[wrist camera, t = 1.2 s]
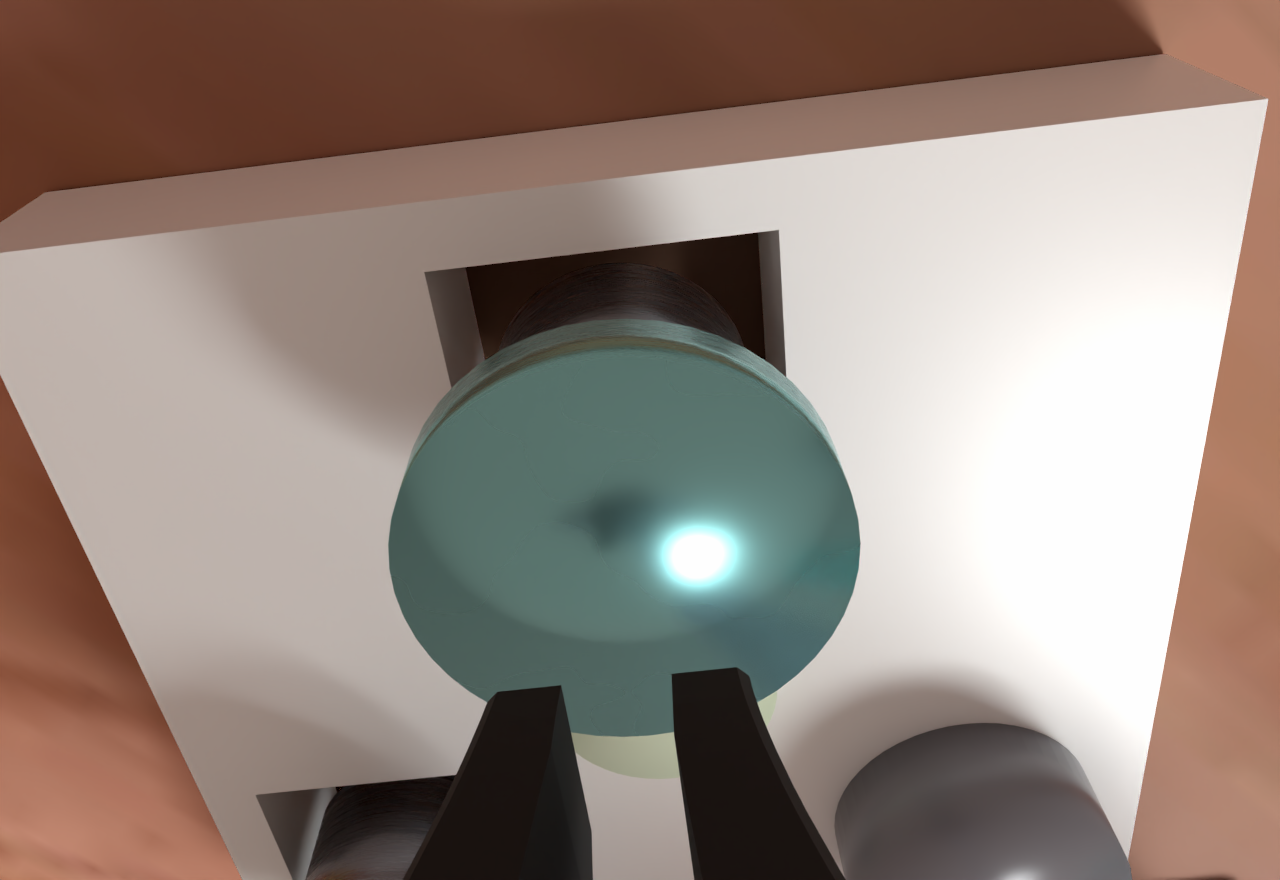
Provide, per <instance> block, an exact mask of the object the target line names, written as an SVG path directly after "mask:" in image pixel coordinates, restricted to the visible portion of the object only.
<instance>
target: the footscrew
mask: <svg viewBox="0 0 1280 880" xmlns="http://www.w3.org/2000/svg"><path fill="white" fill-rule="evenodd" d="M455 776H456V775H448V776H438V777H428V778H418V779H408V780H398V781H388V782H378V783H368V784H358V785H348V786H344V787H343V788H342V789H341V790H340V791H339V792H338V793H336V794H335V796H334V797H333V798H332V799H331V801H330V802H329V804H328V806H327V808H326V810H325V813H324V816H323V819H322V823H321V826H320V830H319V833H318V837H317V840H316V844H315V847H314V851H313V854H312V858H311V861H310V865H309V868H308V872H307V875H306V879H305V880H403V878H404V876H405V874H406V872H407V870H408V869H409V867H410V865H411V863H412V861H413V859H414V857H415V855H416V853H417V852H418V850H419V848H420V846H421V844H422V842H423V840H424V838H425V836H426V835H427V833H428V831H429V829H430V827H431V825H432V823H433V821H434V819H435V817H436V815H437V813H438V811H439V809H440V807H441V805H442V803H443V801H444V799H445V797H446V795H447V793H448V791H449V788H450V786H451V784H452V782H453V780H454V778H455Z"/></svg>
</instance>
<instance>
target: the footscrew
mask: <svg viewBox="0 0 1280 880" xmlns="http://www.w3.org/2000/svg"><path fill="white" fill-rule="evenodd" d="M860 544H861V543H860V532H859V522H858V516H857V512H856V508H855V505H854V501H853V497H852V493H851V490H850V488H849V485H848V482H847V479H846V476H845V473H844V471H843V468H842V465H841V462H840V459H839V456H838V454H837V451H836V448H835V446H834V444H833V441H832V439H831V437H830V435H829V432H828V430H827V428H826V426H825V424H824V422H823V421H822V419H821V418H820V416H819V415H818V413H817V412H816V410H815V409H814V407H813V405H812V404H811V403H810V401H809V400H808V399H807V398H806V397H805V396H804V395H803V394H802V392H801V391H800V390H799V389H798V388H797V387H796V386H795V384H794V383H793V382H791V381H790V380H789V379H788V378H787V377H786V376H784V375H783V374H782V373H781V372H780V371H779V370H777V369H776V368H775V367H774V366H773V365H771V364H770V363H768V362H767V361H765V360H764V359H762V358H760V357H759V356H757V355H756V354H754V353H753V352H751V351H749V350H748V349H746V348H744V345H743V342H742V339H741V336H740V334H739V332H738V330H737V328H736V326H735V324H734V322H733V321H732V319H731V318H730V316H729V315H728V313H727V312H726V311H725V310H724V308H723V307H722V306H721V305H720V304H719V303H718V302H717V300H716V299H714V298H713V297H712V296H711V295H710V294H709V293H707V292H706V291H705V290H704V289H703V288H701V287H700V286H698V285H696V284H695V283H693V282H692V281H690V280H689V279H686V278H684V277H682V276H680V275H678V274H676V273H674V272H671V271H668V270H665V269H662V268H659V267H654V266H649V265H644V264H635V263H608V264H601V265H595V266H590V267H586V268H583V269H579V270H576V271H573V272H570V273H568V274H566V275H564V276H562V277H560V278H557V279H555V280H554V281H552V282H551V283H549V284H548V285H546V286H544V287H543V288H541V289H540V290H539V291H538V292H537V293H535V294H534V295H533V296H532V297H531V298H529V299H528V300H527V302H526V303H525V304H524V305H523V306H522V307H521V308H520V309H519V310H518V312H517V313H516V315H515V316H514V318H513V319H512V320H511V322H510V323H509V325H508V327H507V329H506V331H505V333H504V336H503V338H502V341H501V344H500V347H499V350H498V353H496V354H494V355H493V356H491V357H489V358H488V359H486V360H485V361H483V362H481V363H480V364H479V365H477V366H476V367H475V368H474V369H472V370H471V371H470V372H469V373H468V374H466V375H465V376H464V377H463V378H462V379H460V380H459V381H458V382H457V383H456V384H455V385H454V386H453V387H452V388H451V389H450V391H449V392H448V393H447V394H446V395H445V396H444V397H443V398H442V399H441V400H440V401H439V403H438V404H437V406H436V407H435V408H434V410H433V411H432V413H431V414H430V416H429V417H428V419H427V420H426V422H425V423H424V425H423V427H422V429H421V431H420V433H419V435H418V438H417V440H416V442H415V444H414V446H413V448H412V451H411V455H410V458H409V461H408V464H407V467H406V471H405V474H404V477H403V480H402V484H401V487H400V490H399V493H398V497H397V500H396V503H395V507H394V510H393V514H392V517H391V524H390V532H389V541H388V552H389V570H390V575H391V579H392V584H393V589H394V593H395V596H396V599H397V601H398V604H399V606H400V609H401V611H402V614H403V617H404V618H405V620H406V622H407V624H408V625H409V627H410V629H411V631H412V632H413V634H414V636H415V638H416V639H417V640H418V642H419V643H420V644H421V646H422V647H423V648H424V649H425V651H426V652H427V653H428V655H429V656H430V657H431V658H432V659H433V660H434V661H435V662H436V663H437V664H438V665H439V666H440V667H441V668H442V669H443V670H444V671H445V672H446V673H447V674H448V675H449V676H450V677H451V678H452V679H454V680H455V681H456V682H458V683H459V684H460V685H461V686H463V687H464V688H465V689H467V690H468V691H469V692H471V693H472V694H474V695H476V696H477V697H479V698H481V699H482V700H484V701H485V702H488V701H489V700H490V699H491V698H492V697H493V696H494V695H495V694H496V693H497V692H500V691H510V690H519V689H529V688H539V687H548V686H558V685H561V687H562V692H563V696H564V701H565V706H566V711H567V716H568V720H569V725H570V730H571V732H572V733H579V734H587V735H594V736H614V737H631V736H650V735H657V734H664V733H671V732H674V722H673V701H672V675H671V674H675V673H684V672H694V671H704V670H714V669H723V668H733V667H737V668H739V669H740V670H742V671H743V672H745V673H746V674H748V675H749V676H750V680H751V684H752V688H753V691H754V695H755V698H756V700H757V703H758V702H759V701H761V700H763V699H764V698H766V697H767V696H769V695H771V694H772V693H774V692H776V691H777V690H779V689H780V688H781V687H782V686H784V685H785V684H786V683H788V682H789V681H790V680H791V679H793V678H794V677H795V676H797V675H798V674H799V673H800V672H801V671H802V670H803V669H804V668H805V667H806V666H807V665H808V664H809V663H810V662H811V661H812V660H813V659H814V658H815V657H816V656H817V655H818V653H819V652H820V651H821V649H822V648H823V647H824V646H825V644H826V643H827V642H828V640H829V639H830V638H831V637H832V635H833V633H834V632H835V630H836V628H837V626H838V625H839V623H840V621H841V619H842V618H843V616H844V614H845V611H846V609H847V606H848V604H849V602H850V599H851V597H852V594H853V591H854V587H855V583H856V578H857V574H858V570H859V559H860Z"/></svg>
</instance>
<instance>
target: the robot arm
mask: <svg viewBox="0 0 1280 880" xmlns="http://www.w3.org/2000/svg"><path fill="white" fill-rule="evenodd" d="M671 675H672V701H673V722H674V738H675V745H676V752H677V760H678V767H679V774H680V781H681V788H682V796H683V803H684V810H685V817H686V824H687V831H688V839H689V846H690V853H691V860H692V867H693V875H694V880H846V879H845V877H844V876H843V874H842V873H841V871H840V869H839V867H838V866H837V864H836V862H835V860H834V858H833V857H832V855H831V853H830V851H829V850H828V848H827V846H826V844H825V843H824V841H823V839H822V837H821V835H820V834H819V832H818V830H817V828H816V827H815V825H814V823H813V821H812V820H811V818H810V816H809V814H808V812H807V811H806V809H805V807H804V805H803V803H802V801H801V799H800V797H799V795H798V793H797V791H796V790H795V788H794V786H793V784H792V782H791V780H790V777H789V775H788V773H787V771H786V769H785V767H784V765H783V763H782V761H781V759H780V757H779V754H778V752H777V750H776V748H775V746H774V743H773V741H772V739H771V737H770V734H769V732H768V730H767V727H766V725H765V722H764V720H763V717H762V715H761V712H760V709H759V706H758V703H757V700H756V698H755V695H754V691H753V688H752V684H751V680H750V676H749V675H748V674H746V673H745V672H743V671H742V670H740V669H739V668H737V667H733V668H723V669H714V670H704V671H694V672H684V673H675V674H671ZM403 880H593V865H592V831H591V826H590V821H589V816H588V811H587V807H586V802H585V797H584V792H583V787H582V783H581V778H580V773H579V768H578V764H577V759H576V754H575V749H574V744H573V740H572V735H571V730H570V725H569V720H568V716H567V711H566V706H565V701H564V696H563V692H562V687H561V685H558V686H548V687H539V688H529V689H519V690H510V691H500V692H497V693H496V694H495V695H494V696H493V697H492V698H491V699H490V700H489V701H488V702H487V704H486V707H485V709H484V712H483V714H482V717H481V719H480V722H479V724H478V727H477V729H476V731H475V734H474V736H473V738H472V741H471V743H470V745H469V747H468V750H467V752H466V754H465V756H464V759H463V761H462V763H461V765H460V767H459V769H458V772H457V774H456V776H455V778H454V780H453V782H452V784H451V786H450V788H449V791H448V793H447V795H446V797H445V799H444V801H443V803H442V805H441V807H440V809H439V811H438V813H437V815H436V817H435V819H434V821H433V823H432V825H431V827H430V829H429V831H428V833H427V835H426V836H425V838H424V840H423V842H422V844H421V846H420V848H419V850H418V852H417V853H416V855H415V857H414V859H413V861H412V863H411V865H410V867H409V869H408V870H407V872H406V874H405V876H404V878H403Z"/></svg>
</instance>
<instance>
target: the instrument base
mask: <svg viewBox="0 0 1280 880" xmlns="http://www.w3.org/2000/svg"><path fill="white" fill-rule="evenodd" d="M1267 103H1268V98H1265V97H1263V96H1261V95H1259V94H1256V93H1254V92H1252V91H1249V90H1247V89H1245V88H1243V87H1240V86H1238V85H1236V84H1233V83H1231V82H1229V81H1227V80H1224V79H1222V78H1220V77H1217V76H1215V75H1213V74H1211V73H1208V72H1206V71H1204V70H1201V69H1199V68H1197V67H1195V66H1192V65H1190V64H1188V63H1185V62H1183V61H1181V60H1179V59H1176V58H1174V57H1172V56H1169V55H1167V54H1160V55H1152V56H1144V57H1136V58H1128V59H1120V60H1112V61H1104V62H1096V63H1088V64H1080V65H1071V66H1063V67H1055V68H1047V69H1039V70H1031V71H1023V72H1015V73H1007V74H999V75H991V76H982V77H974V78H966V79H958V80H950V81H942V82H934V83H926V84H918V85H910V86H902V87H894V88H885V89H877V90H869V91H861V92H853V93H845V94H837V95H829V96H821V97H813V98H805V99H796V100H788V101H780V102H772V103H764V104H756V105H748V106H740V107H732V108H724V109H716V110H707V111H699V112H691V113H683V114H675V115H667V116H659V117H651V118H643V119H635V120H627V121H618V122H610V123H602V124H594V125H586V126H578V127H570V128H562V129H554V130H546V131H538V132H529V133H521V134H513V135H505V136H497V137H489V138H481V139H473V140H465V141H457V142H449V143H441V144H432V145H424V146H416V147H408V148H400V149H392V150H384V151H376V152H368V153H360V154H352V155H343V156H335V157H327V158H319V159H311V160H303V161H295V162H287V163H279V164H271V165H263V166H254V167H246V168H238V169H230V170H222V171H214V172H206V173H198V174H190V175H182V176H174V177H165V178H157V179H149V180H141V181H133V182H125V183H117V184H109V185H101V186H93V187H85V188H76V189H68V190H60V191H52V192H45V193H43V194H42V195H40V196H39V197H37V198H36V199H34V200H33V201H31V202H30V203H28V204H27V205H25V206H24V207H22V208H21V209H19V210H18V211H17V212H15V213H14V214H12V215H11V216H9V217H8V218H6V219H5V220H3V221H2V222H0V375H1V378H2V380H3V382H4V384H5V386H6V388H7V390H8V392H9V394H10V396H11V398H12V400H13V403H14V405H15V407H16V409H17V411H18V413H19V415H20V417H21V419H22V421H23V423H24V425H25V428H26V430H27V432H28V434H29V436H30V438H31V440H32V442H33V444H34V446H35V448H36V451H37V453H38V455H39V457H40V459H41V461H42V463H43V465H44V467H45V469H46V471H47V473H48V476H49V478H50V480H51V482H52V484H53V486H54V488H55V490H56V492H57V494H58V496H59V498H60V501H61V503H62V505H63V507H64V509H65V511H66V513H67V515H68V517H69V519H70V521H71V524H72V526H73V528H74V530H75V532H76V534H77V536H78V538H79V540H80V542H81V544H82V546H83V549H84V551H85V553H86V555H87V557H88V559H89V561H90V563H91V565H92V567H93V569H94V572H95V574H96V576H97V578H98V580H99V582H100V584H101V586H102V588H103V590H104V592H105V594H106V597H107V599H108V601H109V603H110V605H111V607H112V609H113V611H114V613H115V615H116V617H117V619H118V622H119V624H120V626H121V628H122V630H123V632H124V634H125V636H126V638H127V640H128V642H129V645H130V647H131V649H132V651H133V653H134V655H135V657H136V659H137V661H138V663H139V665H140V667H141V670H142V672H143V674H144V676H145V678H146V680H147V682H148V684H149V686H150V688H151V690H152V692H153V695H154V697H155V699H156V701H157V703H158V705H159V707H160V709H161V711H162V713H163V715H164V718H165V720H166V722H167V724H168V726H169V728H170V730H171V732H172V734H173V736H174V738H175V740H176V743H177V745H178V747H179V749H180V751H181V753H182V755H183V757H184V759H185V761H186V763H187V766H188V768H189V770H190V772H191V774H192V776H193V778H194V780H195V782H196V784H197V786H198V788H199V791H200V793H201V795H202V797H203V799H204V801H205V803H206V805H207V807H208V809H209V811H210V813H211V816H212V818H213V820H214V822H215V824H216V826H217V828H218V830H219V832H220V834H221V836H222V839H223V841H224V843H225V845H226V847H227V849H228V851H229V853H230V855H231V857H232V859H233V861H234V864H235V866H236V868H237V870H238V872H239V874H240V876H241V878H242V880H305V879H306V875H307V872H308V868H309V865H310V861H311V858H312V854H313V851H314V847H315V844H316V840H317V837H318V833H319V830H320V826H321V823H322V819H323V816H324V813H325V810H326V808H327V806H328V804H329V802H330V801H331V799H332V798H333V797H334V796H335V794H336V793H337V791H336V788H335V787H338V786H348V785H358V784H368V783H378V782H388V781H398V780H408V779H418V778H428V777H438V776H448V775H456V774H457V772H458V769H459V767H460V765H461V763H462V761H463V759H464V756H465V754H466V752H467V750H468V747H469V745H470V743H471V741H472V738H473V736H474V734H475V731H476V729H477V727H478V724H479V722H480V719H481V717H482V714H483V712H484V709H485V707H486V704H487V702H485V701H484V700H482V699H481V698H479V697H477V696H476V695H474V694H472V693H471V692H469V691H468V690H467V689H465V688H464V687H463V686H461V685H460V684H459V683H458V682H456V681H455V680H454V679H452V678H451V677H450V676H449V675H448V674H447V673H446V672H445V671H444V670H443V669H442V668H441V667H440V666H439V665H438V664H437V663H436V662H435V661H434V660H433V659H432V658H431V657H430V656H429V655H428V653H427V652H426V651H425V649H424V648H423V647H422V646H421V644H420V643H419V642H418V640H417V639H416V638H415V636H414V634H413V632H412V631H411V629H410V627H409V625H408V624H407V622H406V620H405V618H404V617H403V614H402V611H401V609H400V606H399V604H398V601H397V599H396V596H395V593H394V589H393V584H392V579H391V575H390V570H389V552H388V541H389V532H390V524H391V517H392V514H393V510H394V507H395V503H396V500H397V497H398V493H399V490H400V487H401V484H402V480H403V477H404V474H405V471H406V467H407V464H408V461H409V458H410V455H411V451H412V448H413V446H414V444H415V442H416V440H417V438H418V435H419V433H420V431H421V429H422V427H423V425H424V423H425V422H426V420H427V419H428V417H429V416H430V414H431V413H432V411H433V410H434V408H435V407H436V406H437V404H438V403H439V401H440V400H441V399H442V398H443V397H444V396H445V395H446V394H447V393H448V392H449V391H450V389H451V388H452V387H453V386H454V385H455V384H456V383H457V382H458V381H459V380H460V379H462V378H463V377H464V376H465V375H466V374H468V373H469V372H470V371H471V370H472V369H474V368H475V367H476V366H477V365H479V364H480V363H481V362H483V361H485V358H484V353H483V348H482V344H481V339H480V334H479V329H478V325H477V320H476V315H475V311H474V306H473V301H472V297H471V292H470V287H469V283H468V278H467V273H466V268H465V267H471V266H479V265H488V264H496V263H505V262H513V261H522V260H530V259H538V258H547V257H555V256H564V255H572V254H580V253H589V252H597V251H606V250H614V249H622V248H631V247H639V246H648V245H656V244H665V243H673V242H681V241H690V240H698V239H707V238H715V237H723V236H732V235H740V234H749V233H757V232H758V242H759V259H760V275H761V291H762V308H763V324H764V340H765V356H766V361H767V362H768V363H770V364H771V365H773V366H774V367H775V368H776V369H777V370H779V371H780V372H781V373H782V374H783V375H784V376H786V377H787V378H788V379H789V380H790V381H791V382H793V383H794V384H795V386H796V387H797V388H798V389H799V390H800V391H801V392H802V394H803V395H804V396H805V397H806V398H807V399H808V400H809V401H810V403H811V404H812V405H813V407H814V409H815V410H816V412H817V413H818V415H819V416H820V418H821V419H822V421H823V422H824V424H825V426H826V428H827V430H828V432H829V435H830V437H831V439H832V441H833V444H834V446H835V448H836V451H837V454H838V456H839V459H840V462H841V465H842V468H843V471H844V473H845V476H846V479H847V482H848V485H849V488H850V490H851V493H852V497H853V501H854V505H855V508H856V512H857V516H858V522H859V532H860V543H861V544H860V559H859V570H858V574H857V578H856V583H855V587H854V591H853V594H852V597H851V599H850V602H849V604H848V606H847V609H846V611H845V614H844V616H843V618H842V619H841V621H840V623H839V625H838V626H837V628H836V630H835V632H834V633H833V635H832V637H831V638H830V639H829V640H828V642H827V643H826V644H825V646H824V647H823V648H822V649H821V651H820V652H819V653H818V655H817V656H816V657H815V658H814V659H813V660H812V661H811V662H810V663H809V664H808V665H807V666H806V667H805V668H804V669H803V670H802V671H801V672H800V673H799V674H798V675H797V676H795V677H794V678H793V679H791V680H790V681H789V682H788V683H786V684H785V685H784V686H782V687H781V688H780V689H779V690H777V691H776V692H774V693H772V694H771V695H769V696H767V697H766V698H764V699H763V700H761V701H759V702H758V706H759V709H760V712H761V715H762V717H763V720H764V722H765V725H766V727H767V730H768V732H769V734H770V737H771V739H772V741H773V743H774V746H775V748H776V750H777V752H778V754H779V757H780V759H781V761H782V763H783V765H784V767H785V769H786V771H787V773H788V775H789V777H790V780H791V782H792V784H793V786H794V788H795V790H796V791H797V793H798V795H799V797H800V799H801V801H802V803H803V805H804V807H805V809H806V811H807V812H808V814H809V816H810V818H811V820H812V821H813V823H814V825H815V827H816V828H817V830H818V832H819V834H820V835H821V837H822V839H823V841H824V843H825V844H826V846H827V848H828V850H829V851H830V853H831V855H832V857H833V858H834V860H835V862H836V864H837V866H838V867H839V869H840V871H841V873H842V874H843V876H844V877H845V879H846V880H1132V875H1131V868H1130V865H1129V862H1128V856H1129V851H1130V846H1131V840H1132V835H1133V829H1134V824H1135V819H1136V813H1137V808H1138V802H1139V797H1140V791H1141V786H1142V781H1143V775H1144V770H1145V764H1146V759H1147V754H1148V748H1149V743H1150V737H1151V732H1152V726H1153V721H1154V716H1155V710H1156V705H1157V699H1158V694H1159V689H1160V683H1161V678H1162V672H1163V667H1164V661H1165V656H1166V651H1167V645H1168V640H1169V634H1170V629H1171V623H1172V618H1173V613H1174V607H1175V602H1176V596H1177V591H1178V586H1179V580H1180V575H1181V569H1182V564H1183V558H1184V553H1185V548H1186V542H1187V537H1188V531H1189V526H1190V521H1191V515H1192V510H1193V504H1194V499H1195V493H1196V488H1197V483H1198V477H1199V472H1200V466H1201V461H1202V456H1203V450H1204V445H1205V439H1206V434H1207V428H1208V423H1209V418H1210V412H1211V407H1212V401H1213V396H1214V391H1215V385H1216V380H1217V374H1218V369H1219V363H1220V358H1221V353H1222V347H1223V342H1224V336H1225V331H1226V326H1227V320H1228V315H1229V309H1230V304H1231V298H1232V293H1233V288H1234V282H1235V277H1236V271H1237V266H1238V261H1239V255H1240V250H1241V244H1242V239H1243V233H1244V228H1245V223H1246V217H1247V212H1248V206H1249V201H1250V196H1251V190H1252V185H1253V179H1254V174H1255V168H1256V163H1257V158H1258V152H1259V147H1260V141H1261V136H1262V131H1263V125H1264V120H1265V114H1266V109H1267ZM571 735H572V740H573V744H574V749H575V754H576V759H577V764H578V768H579V773H580V778H581V783H582V787H583V792H584V797H585V802H586V807H587V811H588V816H589V821H590V826H591V831H592V865H593V880H694V875H693V867H692V860H691V853H690V846H689V839H688V831H687V824H686V817H685V810H684V803H683V796H682V788H681V781H680V774H679V767H678V760H677V752H676V745H675V738H674V732H671V733H664V734H657V735H650V736H631V737H614V736H594V735H587V734H579V733H572V732H571Z"/></svg>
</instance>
